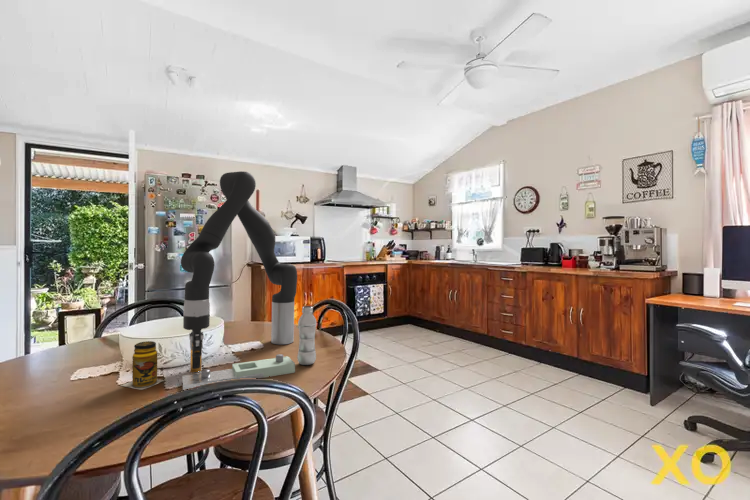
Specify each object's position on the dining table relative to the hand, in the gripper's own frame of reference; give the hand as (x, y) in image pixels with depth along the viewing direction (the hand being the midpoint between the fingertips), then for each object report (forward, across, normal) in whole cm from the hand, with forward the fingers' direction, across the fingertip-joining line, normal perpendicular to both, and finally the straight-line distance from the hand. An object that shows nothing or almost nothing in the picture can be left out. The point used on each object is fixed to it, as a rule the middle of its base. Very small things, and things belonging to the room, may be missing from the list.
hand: (195, 366), depth 113 cm
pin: (+2, 0, 0) cm, 2 cm away
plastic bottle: (+2, +9, +34) cm, 35 cm away
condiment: (+2, +4, -14) cm, 15 cm away
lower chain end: (+2, +11, +7) cm, 13 cm away
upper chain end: (+2, +11, +19) cm, 22 cm away
